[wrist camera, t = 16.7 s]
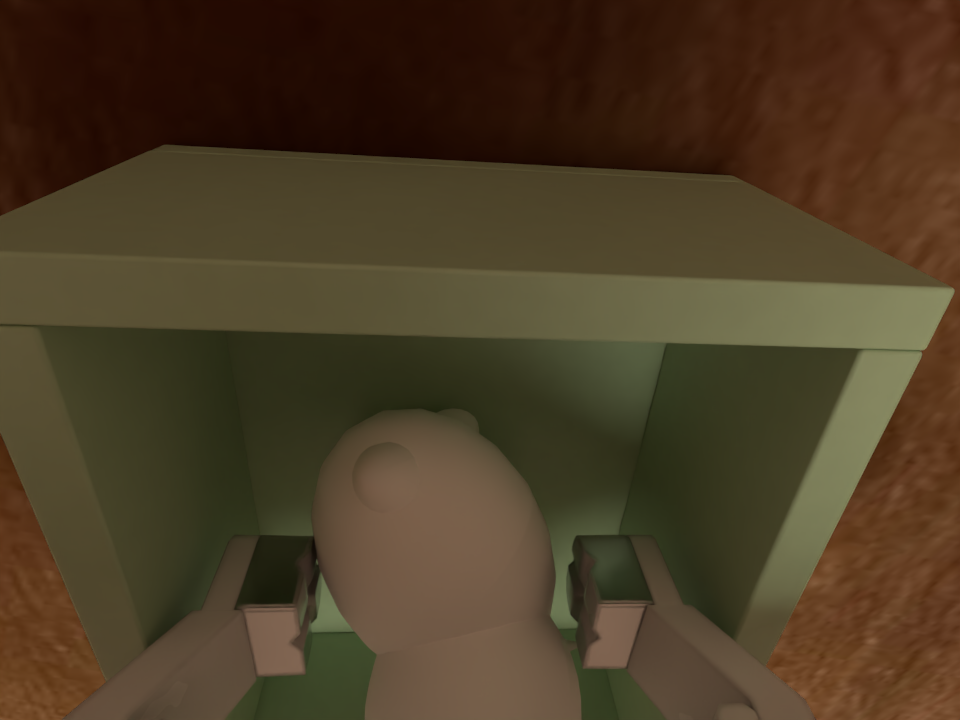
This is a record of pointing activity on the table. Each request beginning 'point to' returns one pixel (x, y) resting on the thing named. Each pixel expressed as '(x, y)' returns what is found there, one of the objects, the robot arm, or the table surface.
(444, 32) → the table surface
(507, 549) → the toy creature
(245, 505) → the sage bin
